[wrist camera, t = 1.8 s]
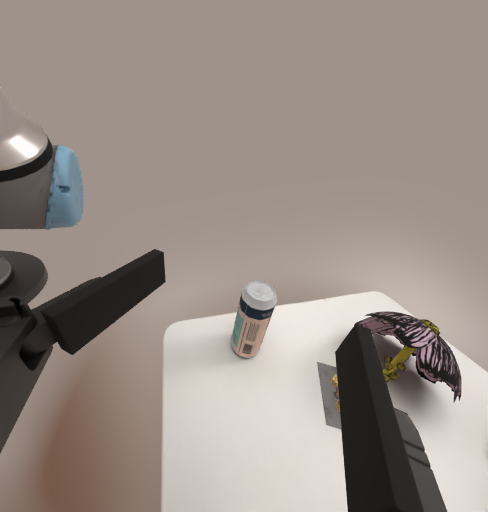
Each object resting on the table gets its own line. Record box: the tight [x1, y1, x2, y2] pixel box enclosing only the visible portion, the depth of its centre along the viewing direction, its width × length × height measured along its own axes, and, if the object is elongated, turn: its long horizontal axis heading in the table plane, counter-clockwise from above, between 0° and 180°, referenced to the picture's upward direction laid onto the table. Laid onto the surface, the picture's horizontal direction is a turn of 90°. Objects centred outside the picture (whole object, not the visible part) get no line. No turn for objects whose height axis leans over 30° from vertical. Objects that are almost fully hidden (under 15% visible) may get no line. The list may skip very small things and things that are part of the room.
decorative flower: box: [355, 312, 461, 402], centre depth 29 cm, size 14×12×15 cm
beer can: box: [231, 281, 277, 358], centre depth 27 cm, size 5×5×12 cm
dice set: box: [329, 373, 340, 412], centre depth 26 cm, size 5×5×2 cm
